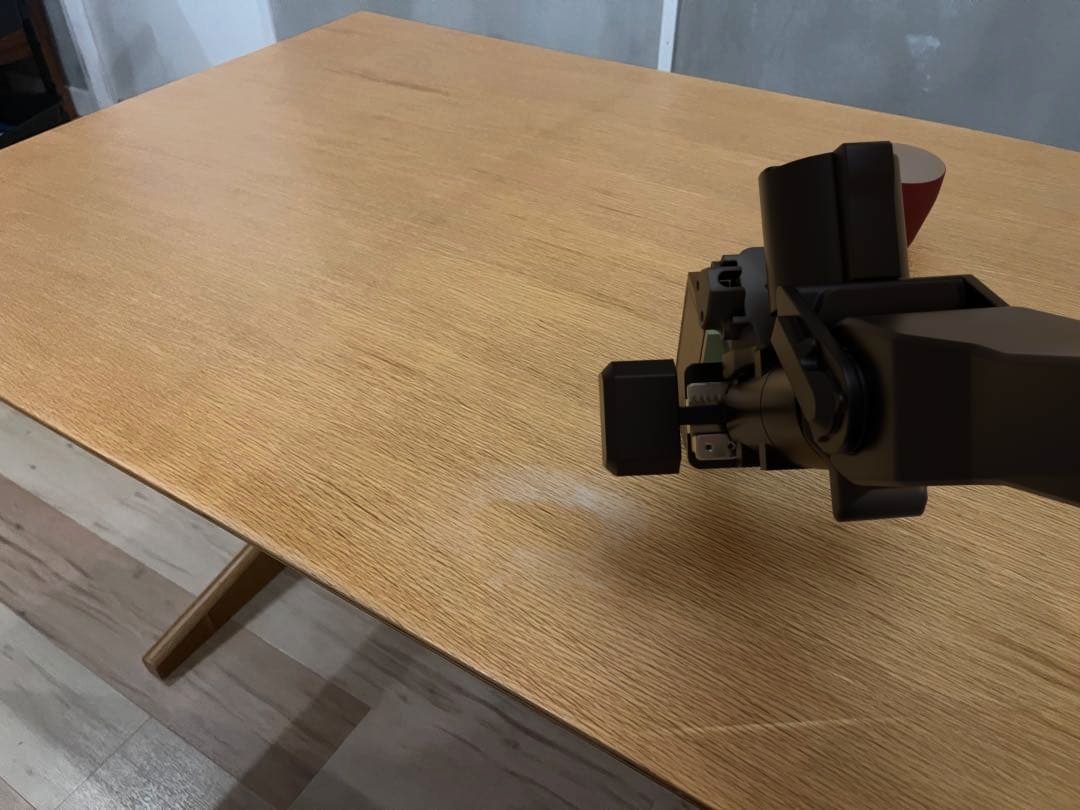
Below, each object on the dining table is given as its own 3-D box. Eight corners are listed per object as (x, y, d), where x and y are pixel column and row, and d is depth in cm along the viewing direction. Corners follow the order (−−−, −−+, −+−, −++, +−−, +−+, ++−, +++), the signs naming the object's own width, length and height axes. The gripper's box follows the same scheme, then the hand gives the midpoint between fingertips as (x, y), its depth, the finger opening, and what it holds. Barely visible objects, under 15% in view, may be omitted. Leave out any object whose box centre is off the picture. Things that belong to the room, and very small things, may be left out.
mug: (807, 280, 77) (831, 181, 70) (794, 234, 83) (815, 140, 76) (922, 283, 76) (958, 185, 69) (901, 238, 82) (932, 143, 75)
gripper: (1009, 226, 38) (865, 288, 54) (610, 240, 38) (582, 298, 53) (1025, 465, 38) (876, 457, 53) (622, 483, 37) (590, 470, 53)
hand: (731, 416), depth 53 cm, fingers closed
